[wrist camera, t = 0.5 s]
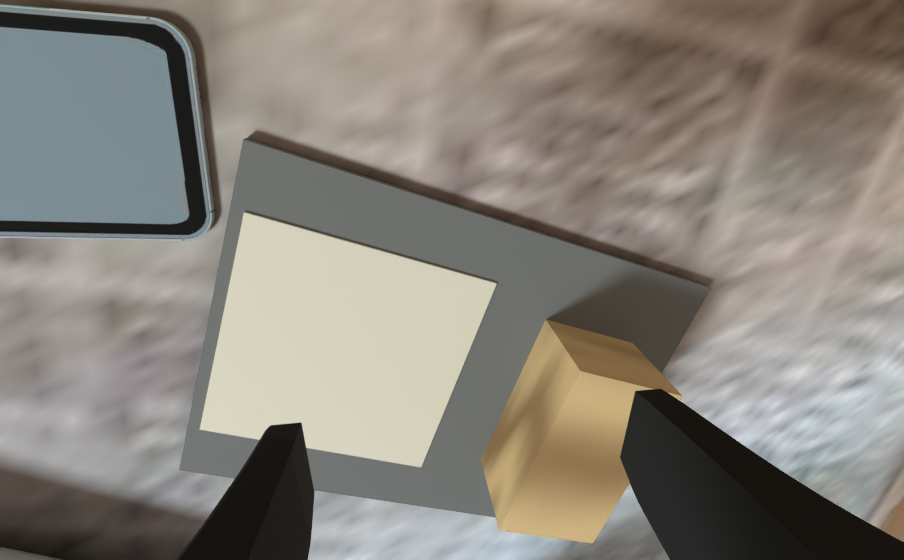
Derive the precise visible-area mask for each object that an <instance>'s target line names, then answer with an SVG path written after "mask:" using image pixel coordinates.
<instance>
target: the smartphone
mask: <svg viewBox="0 0 904 560" xmlns="http://www.w3.org/2000/svg"><path fill="white" fill-rule="evenodd" d="M196 66H197V64H196V57H195V52H194V49H193V46H192V44H191V42H190V41H189V39H188V38H187V36H186V35H185V34H184V33H183V32H182V31H181V30H180V29H179V28H178V27H177V26H175V25H174V24H172V23H170V22H168V21H166V20H163V19H160V18H155V17H149V16H137V15H126V14H114V13H102V12H91V11H79V10H67V9H56V8H44V7H32V6H20V5H9V4H0V238H55V239H114V240H172V241H189V240H194V239H197V238H200V237H201V236H203V235H204V234H205V233H206V232H207V231H208V230H209V229H210V228H211V227H212V225H213V222H214V219H215V208H214V200H213V193H212V186H211V180H210V177H211V176H210V173H209V171H210V168H209V160H208V152H207V148H206V141H205V134H204V129H205V128H204V122H203V112H202V105H201V99H200V91H199V84H198V77H197V73H198V72H197V70H196Z"/></svg>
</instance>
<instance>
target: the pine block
mask: <svg viewBox="0 0 904 560" xmlns="http://www.w3.org/2000/svg"><path fill="white" fill-rule="evenodd" d="M650 389H663V390H664V391H666V392H667V393H669V394H670V395H672V396H673V397H675V398H676V399H678V400H679V401H680V399H681V398H682V395H681V394H680V393H679V392H678V391H677V390H676V389H675V388H674V386H673V385H672V384H671V383H670V382H669V381H668V380H667V379H666V378H665V377H664V376H663V375H662V374H661V373H660V372H659V370H658V369H657V368H656V367H655V366H654V365H653V364H652V363H651V362H650V361H649V360H648V359H647V358H646V357H645V356H644V355H643V353H642V352H641V351H640V350H639V349H638V348H637V347H636V346H635V345H634V344H633V343H631V342H628V341H624V340H620V339H616V338H613V337H609V336H605V335H602V334H598V333H594V332H590V331H587V330H583V329H579V328H576V327H572V326H568V325H564V324H561V323H557V322H553V321H550V320H545V322H544V324H543V326H542V328H541V330H540V333H539V335H538V337H537V339H536V341H535V343H534V346H533V348H532V350H531V352H530V354H529V356H528V359H527V361H526V363H525V365H524V367H523V369H522V371H521V374H520V376H519V378H518V380H517V382H516V384H515V387H514V389H513V391H512V393H511V395H510V397H509V400H508V402H507V404H506V406H505V408H504V410H503V413H502V415H501V417H500V419H499V421H498V423H497V426H496V428H495V430H494V432H493V434H492V436H491V439H490V441H489V443H488V445H487V447H486V449H485V451H484V454H483V456H482V458H481V462H482V466H483V470H484V474H485V478H486V482H487V486H488V489H489V493H490V497H491V501H492V505H493V509H494V513H495V517H496V520H497V524H498V528H499V530H501V531H508V532H515V533H522V534H529V535H536V536H543V537H550V538H557V539H564V540H571V541H579V542H586V543H593V542H594V541H595V539H596V537H597V536H598V534H599V532H600V531H601V529H602V527H603V526H604V524H605V523H606V521H607V519H608V518H609V516H610V514H611V513H612V511H613V509H614V508H615V506H616V504H617V503H618V501H619V500H620V498H621V496H622V495H623V493H624V491H625V490H626V488H627V486H628V485H629V483H630V482H629V479H628V477H627V474H626V472H625V469H624V467H623V464H622V461H621V459H620V455H621V450H622V446H623V442H624V437H625V433H626V429H627V424H628V420H629V416H630V411H631V407H632V403H633V398H634V394H635V391H640V390H650Z"/></svg>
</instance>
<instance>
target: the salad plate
mask: <svg viewBox="0 0 904 560" xmlns="http://www.w3.org/2000/svg"><path fill="white" fill-rule="evenodd" d="M0 560H62V559H57V558H53V557H48V556H43V555H39V554H34V553H29V552H24V551H19V550H14V549H9V548H4V547H0Z"/></svg>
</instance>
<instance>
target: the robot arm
mask: <svg viewBox="0 0 904 560" xmlns="http://www.w3.org/2000/svg"><path fill="white" fill-rule="evenodd" d="M620 459H621V461H622V464H623V467H624V469H625V472H626V474H627V477H628V479H629V482H630V484H631V486H632V489H633V491H634V493H635V496H636V498H637V500H638V503H639V504H640V506H641V508H642V510H643V512H644V514H645V515H646V517H647V519H648V521H649V523H650V524H651V526H652V528H653V530H654V532H655V533H656V535H657V537H658V539H659V541H660V542H661V544H662V546H663V548H664V550H665V551H666V553H667V555H668V557H669V558H670V560H904V542H902V541H900V540H898V539H896V538H895V537H893V536H891V535H889V534H887V533H885V532H884V531H882V530H880V529H878V528H876V527H875V526H873V525H871V524H869V523H867V522H866V521H864V520H862V519H860V518H858V517H857V516H855V515H853V514H851V513H850V512H848V511H846V510H844V509H843V508H841V507H839V506H837V505H836V504H834V503H832V502H831V501H829V500H827V499H826V498H824V497H822V496H821V495H819V494H817V493H816V492H814V491H813V490H811V489H809V488H808V487H806V486H805V485H803V484H801V483H800V482H798V481H797V480H795V479H794V478H792V477H790V476H789V475H787V474H786V473H784V472H782V471H781V470H779V469H778V468H776V467H775V466H773V465H772V464H770V463H769V462H767V461H766V460H764V459H763V458H761V457H760V456H758V455H757V454H755V453H754V452H752V451H751V450H749V449H748V448H747V447H745V446H744V445H742V444H741V443H739V442H738V441H736V440H735V439H733V438H732V437H731V436H729V435H728V434H726V433H725V432H723V431H722V430H721V429H719V428H718V427H716V426H715V425H713V424H712V423H711V422H709V421H708V420H706V419H705V418H704V417H702V416H701V415H699V414H698V413H696V412H695V411H694V410H692V409H691V408H689V407H688V406H686V405H685V404H684V403H682V402H681V401H679V400H678V399H676V398H675V397H673V396H672V395H670V394H669V393H667V392H666V391H664V390H663V389H650V390H640V391H635V394H634V398H633V403H632V407H631V411H630V416H629V420H628V424H627V429H626V433H625V437H624V442H623V446H622V450H621V455H620ZM313 503H314V487H313V482H312V477H311V471H310V466H309V461H308V455H307V450H306V445H305V439H304V434H303V428H302V423H301V422H300V423H290V424H279V425H270V426H269V427H268V428H267V429H266V430H265V432H264V434H263V435H262V437H261V439H260V440H259V442H258V443H257V445H256V447H255V448H254V450H253V452H252V453H251V455H250V456H249V458H248V460H247V461H246V463H245V464H244V466H243V467H242V469H241V470H240V472H239V473H238V475H237V476H236V478H235V480H234V481H233V483H232V484H231V486H230V487H229V488H228V490H227V491H226V493H225V494H224V496H223V497H222V499H221V500H220V501H219V503H218V504H217V506H216V507H215V509H214V510H213V511H212V513H211V514H210V516H209V517H208V519H207V520H206V521H205V523H204V524H203V526H202V527H201V528H200V530H199V531H198V532H197V534H196V535H195V536H194V538H193V539H192V540H191V542H190V543H189V544H188V545H187V547H186V548H185V549H184V551H183V552H182V553H181V555H180V556H179V557H178V559H177V560H307V559H308V554H309V548H310V542H311V530H312V517H313Z"/></svg>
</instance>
